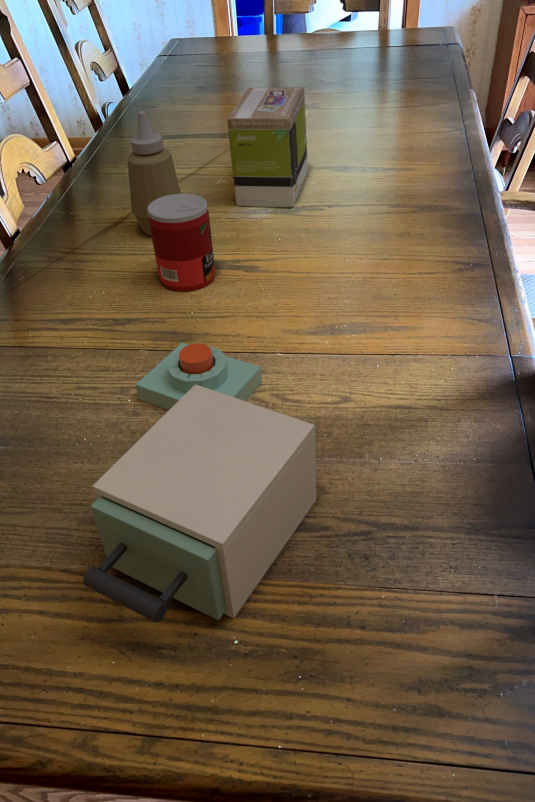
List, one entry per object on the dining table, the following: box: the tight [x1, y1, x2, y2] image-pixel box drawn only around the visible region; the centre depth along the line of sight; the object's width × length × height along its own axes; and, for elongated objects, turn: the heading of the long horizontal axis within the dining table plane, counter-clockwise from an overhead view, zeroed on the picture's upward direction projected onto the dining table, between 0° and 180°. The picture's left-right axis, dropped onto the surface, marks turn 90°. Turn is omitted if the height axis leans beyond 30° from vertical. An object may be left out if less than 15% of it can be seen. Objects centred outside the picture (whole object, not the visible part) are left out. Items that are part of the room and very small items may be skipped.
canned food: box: [147, 193, 216, 292], centre depth 97 cm, size 8×8×11 cm
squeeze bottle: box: [126, 110, 182, 236], centre depth 108 cm, size 8×8×18 cm
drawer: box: [82, 497, 226, 624], centre depth 60 cm, size 18×11×8 cm, turn 150°
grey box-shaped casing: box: [92, 385, 317, 619], centre depth 63 cm, size 15×13×10 cm
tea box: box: [226, 86, 309, 208], centre depth 118 cm, size 15×10×15 cm, turn 168°
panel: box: [135, 342, 263, 411], centre depth 80 cm, size 11×9×4 cm
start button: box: [179, 343, 213, 374], centre depth 79 cm, size 4×4×2 cm
